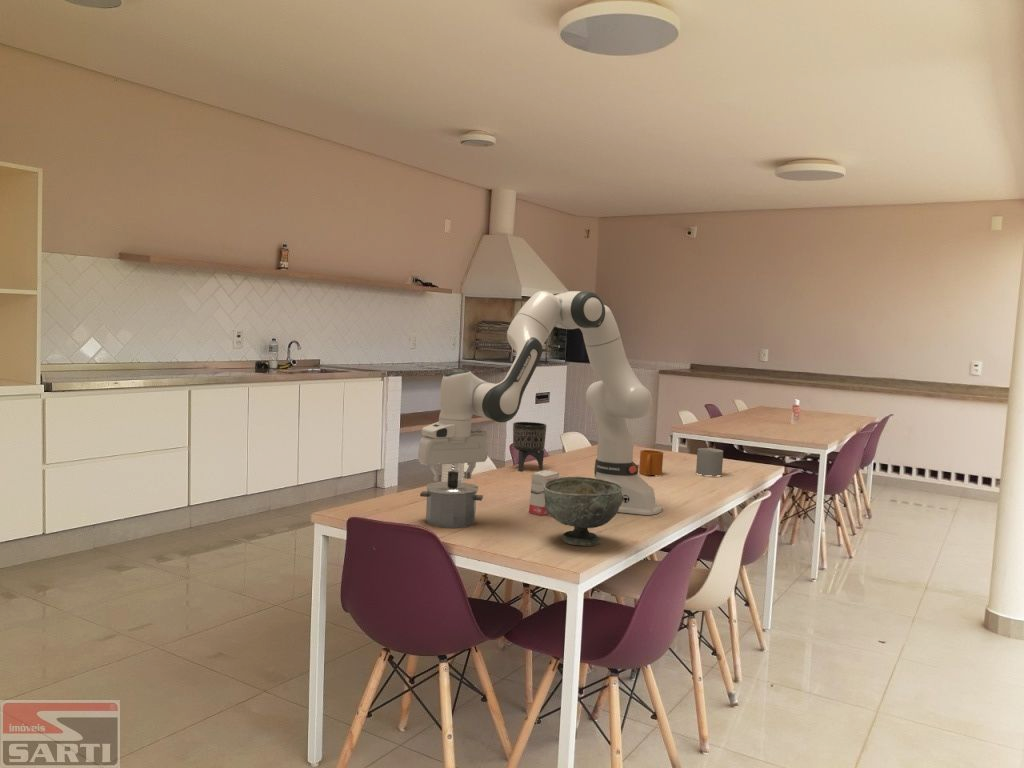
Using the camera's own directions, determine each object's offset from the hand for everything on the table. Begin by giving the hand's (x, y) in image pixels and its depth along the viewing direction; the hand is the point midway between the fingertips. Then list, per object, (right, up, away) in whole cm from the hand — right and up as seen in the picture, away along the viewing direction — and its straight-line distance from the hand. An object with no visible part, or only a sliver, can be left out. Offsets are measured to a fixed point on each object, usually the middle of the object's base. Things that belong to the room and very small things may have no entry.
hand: (452, 479), depth 215 cm
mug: (+69, -10, +93) cm, 116 cm away
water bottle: (-3, -10, +29) cm, 31 cm away
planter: (+22, -7, +91) cm, 94 cm away
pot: (-1, -12, +1) cm, 12 cm away
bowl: (+34, -15, -13) cm, 39 cm away
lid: (0, -4, 0) cm, 4 cm away
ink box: (+25, -12, +18) cm, 34 cm away
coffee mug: (+95, -10, +100) cm, 139 cm away
